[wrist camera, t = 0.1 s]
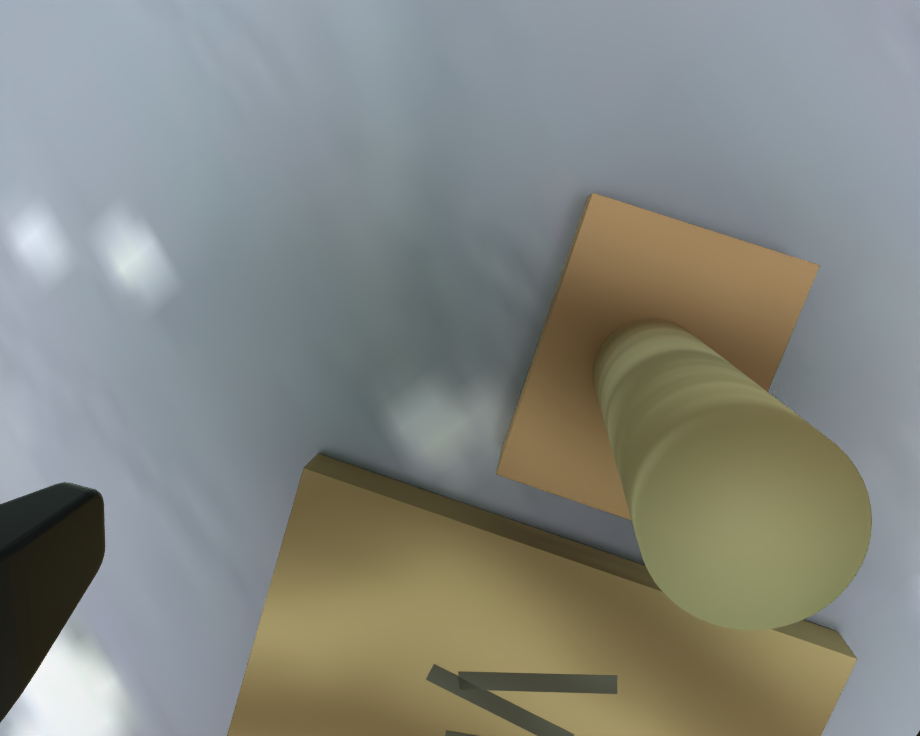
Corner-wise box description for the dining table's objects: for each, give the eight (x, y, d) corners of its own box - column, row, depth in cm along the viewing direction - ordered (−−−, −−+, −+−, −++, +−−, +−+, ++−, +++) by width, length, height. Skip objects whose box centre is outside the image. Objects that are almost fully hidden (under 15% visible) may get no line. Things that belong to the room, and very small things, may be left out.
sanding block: (688, 511, 24) (850, 847, 11) (501, 448, 24) (448, 702, 11) (789, 260, 22) (1121, 311, 9) (588, 196, 22) (641, 159, 10)
